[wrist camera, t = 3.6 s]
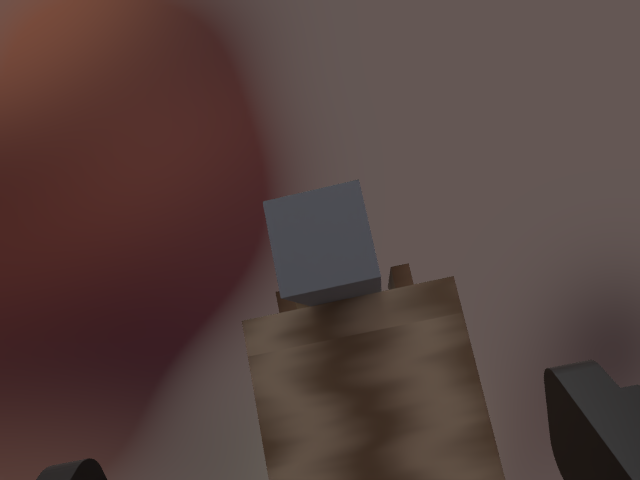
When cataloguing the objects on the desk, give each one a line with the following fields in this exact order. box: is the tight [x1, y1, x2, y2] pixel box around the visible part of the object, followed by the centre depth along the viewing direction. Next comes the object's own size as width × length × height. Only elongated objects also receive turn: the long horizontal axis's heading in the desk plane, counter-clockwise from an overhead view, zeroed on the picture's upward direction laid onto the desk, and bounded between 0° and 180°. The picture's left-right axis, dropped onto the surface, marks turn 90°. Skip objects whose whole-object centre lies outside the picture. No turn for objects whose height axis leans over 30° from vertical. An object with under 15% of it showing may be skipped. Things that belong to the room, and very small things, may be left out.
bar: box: [263, 180, 381, 306], centre depth 31 cm, size 4×22×4 cm, turn 173°
